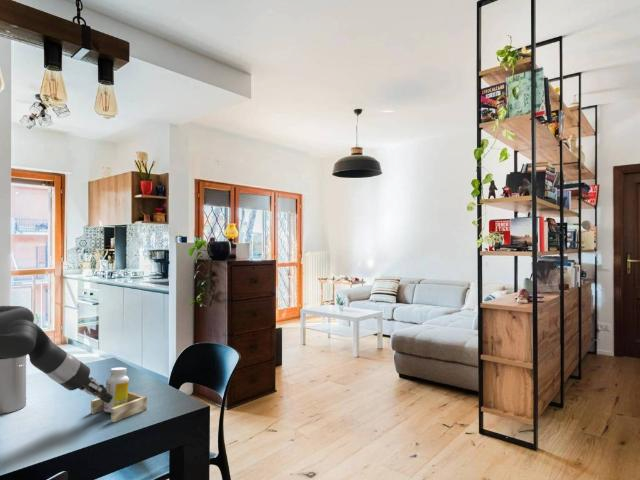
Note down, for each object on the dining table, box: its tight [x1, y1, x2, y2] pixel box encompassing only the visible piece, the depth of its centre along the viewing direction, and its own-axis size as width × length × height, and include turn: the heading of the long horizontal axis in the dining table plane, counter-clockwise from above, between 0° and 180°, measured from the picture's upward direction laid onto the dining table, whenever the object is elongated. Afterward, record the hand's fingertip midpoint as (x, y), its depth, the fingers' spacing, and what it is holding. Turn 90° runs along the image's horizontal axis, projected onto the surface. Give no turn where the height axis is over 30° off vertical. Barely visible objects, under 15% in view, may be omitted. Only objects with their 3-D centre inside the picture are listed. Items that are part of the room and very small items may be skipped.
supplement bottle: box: [103, 366, 130, 413], centre depth 130 cm, size 7×7×13 cm
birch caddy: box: [90, 390, 148, 423], centre depth 129 cm, size 11×12×4 cm
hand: (109, 399), depth 126 cm, fingers closed
